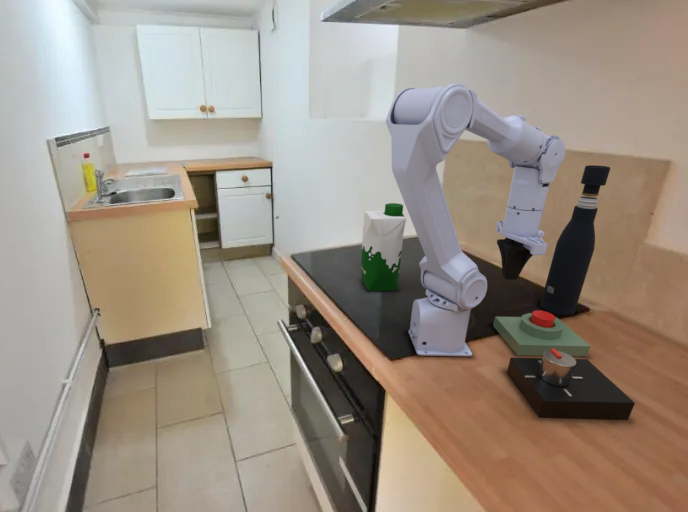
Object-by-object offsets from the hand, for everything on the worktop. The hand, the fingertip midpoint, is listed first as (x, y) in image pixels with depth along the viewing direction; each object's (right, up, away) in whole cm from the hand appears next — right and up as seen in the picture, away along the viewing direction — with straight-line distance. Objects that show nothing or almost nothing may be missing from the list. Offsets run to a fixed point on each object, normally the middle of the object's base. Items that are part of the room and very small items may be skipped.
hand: (509, 278), depth 72 cm
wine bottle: (+16, -7, +11) cm, 21 cm away
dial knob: (-2, -14, -16) cm, 21 cm away
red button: (+5, -8, -2) cm, 10 cm away
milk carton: (-20, -2, +22) cm, 30 cm away
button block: (+5, -12, -1) cm, 13 cm away
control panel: (0, -17, -15) cm, 23 cm away
